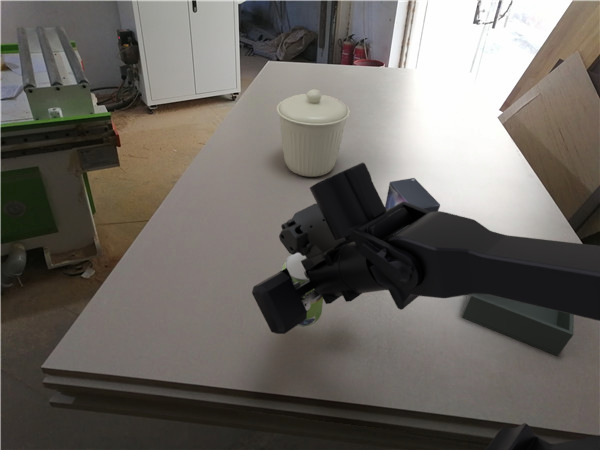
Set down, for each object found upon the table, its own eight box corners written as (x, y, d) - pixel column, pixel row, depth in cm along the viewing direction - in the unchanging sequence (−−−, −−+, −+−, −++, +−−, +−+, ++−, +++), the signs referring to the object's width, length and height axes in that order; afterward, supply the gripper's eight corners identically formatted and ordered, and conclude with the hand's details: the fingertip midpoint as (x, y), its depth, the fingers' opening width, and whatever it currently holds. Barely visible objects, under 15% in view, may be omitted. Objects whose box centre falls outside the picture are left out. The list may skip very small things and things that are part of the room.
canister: (327, 147, 119) (333, 75, 106) (354, 179, 106) (365, 100, 93) (268, 156, 114) (267, 80, 101) (288, 190, 100) (290, 108, 87)
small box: (380, 219, 92) (387, 180, 86) (405, 215, 94) (414, 176, 87) (402, 249, 84) (413, 208, 78) (429, 244, 86) (442, 204, 80)
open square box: (557, 356, 65) (573, 334, 62) (461, 317, 71) (471, 295, 67) (561, 288, 77) (575, 267, 74) (479, 260, 83) (488, 239, 79)
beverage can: (320, 299, 64) (327, 241, 57) (322, 338, 58) (330, 277, 51) (280, 298, 64) (282, 239, 57) (278, 336, 58) (280, 276, 51)
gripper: (381, 174, 49) (315, 207, 63) (259, 235, 39) (210, 259, 52) (421, 255, 50) (347, 271, 63) (310, 337, 40) (249, 336, 53)
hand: (292, 281), depth 58 cm, fingers closed on beverage can, 6 cm apart
